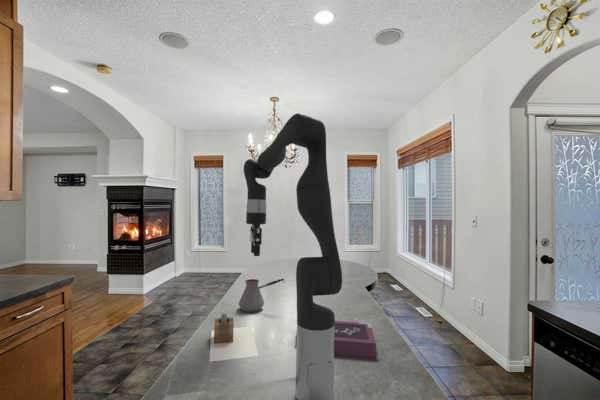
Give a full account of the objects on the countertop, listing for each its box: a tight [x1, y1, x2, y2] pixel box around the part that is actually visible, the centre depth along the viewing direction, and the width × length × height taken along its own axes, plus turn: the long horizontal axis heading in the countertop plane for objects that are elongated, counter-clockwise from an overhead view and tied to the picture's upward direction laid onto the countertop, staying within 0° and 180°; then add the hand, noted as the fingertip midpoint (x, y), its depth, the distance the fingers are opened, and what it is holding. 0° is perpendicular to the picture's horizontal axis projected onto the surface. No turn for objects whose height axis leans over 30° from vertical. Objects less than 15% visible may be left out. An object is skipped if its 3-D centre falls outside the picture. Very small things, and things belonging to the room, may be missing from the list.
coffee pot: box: [238, 278, 286, 313], centre depth 127 cm, size 21×12×15 cm, turn 75°
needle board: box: [208, 312, 260, 363], centre depth 93 cm, size 22×14×10 cm, turn 16°
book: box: [295, 320, 377, 359], centre depth 97 cm, size 25×16×5 cm, turn 82°
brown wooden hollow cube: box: [213, 316, 235, 344], centre depth 95 cm, size 6×6×6 cm
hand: (255, 254), depth 107 cm, fingers open, 8 cm apart
